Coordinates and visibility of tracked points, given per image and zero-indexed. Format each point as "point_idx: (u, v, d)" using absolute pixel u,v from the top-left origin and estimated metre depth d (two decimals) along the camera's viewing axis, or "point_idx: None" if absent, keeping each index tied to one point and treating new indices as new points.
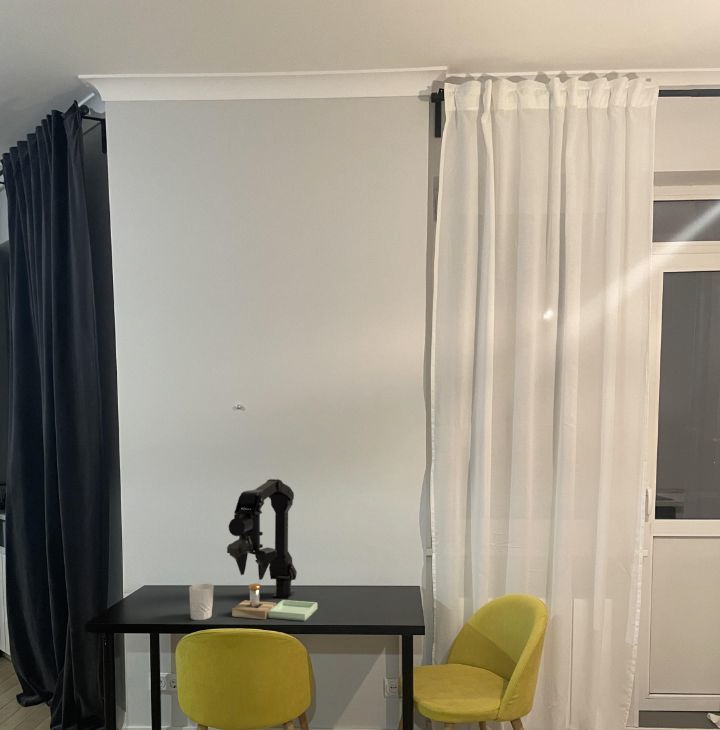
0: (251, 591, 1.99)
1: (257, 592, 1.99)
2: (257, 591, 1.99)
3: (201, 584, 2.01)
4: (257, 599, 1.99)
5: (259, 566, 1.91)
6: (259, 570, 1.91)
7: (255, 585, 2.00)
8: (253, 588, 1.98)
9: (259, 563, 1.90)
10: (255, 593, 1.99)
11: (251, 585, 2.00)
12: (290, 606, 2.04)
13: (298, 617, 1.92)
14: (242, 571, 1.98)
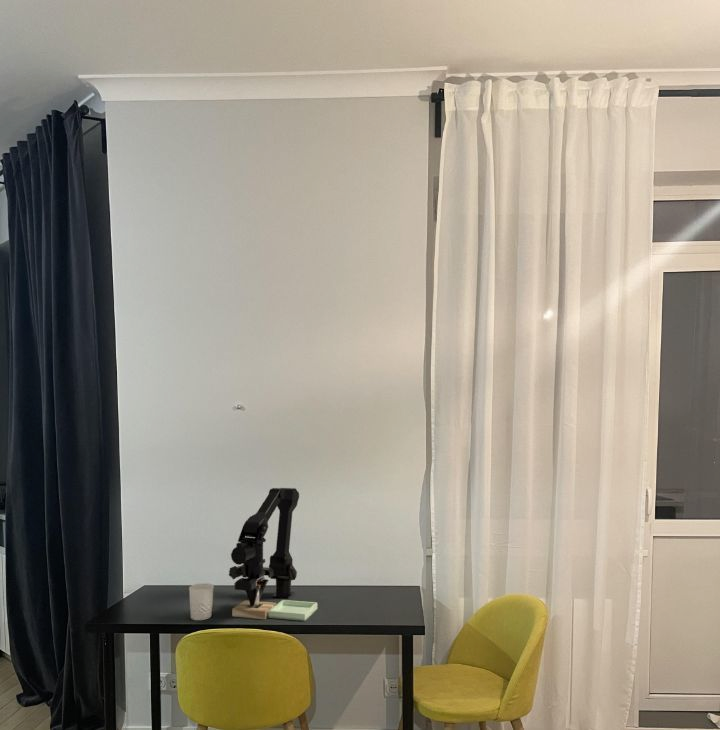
0: None
1: None
2: None
3: (201, 584, 2.01)
4: (257, 599, 1.99)
5: None
6: None
7: None
8: None
9: None
10: None
11: None
12: (290, 606, 2.04)
13: (298, 617, 1.92)
14: None
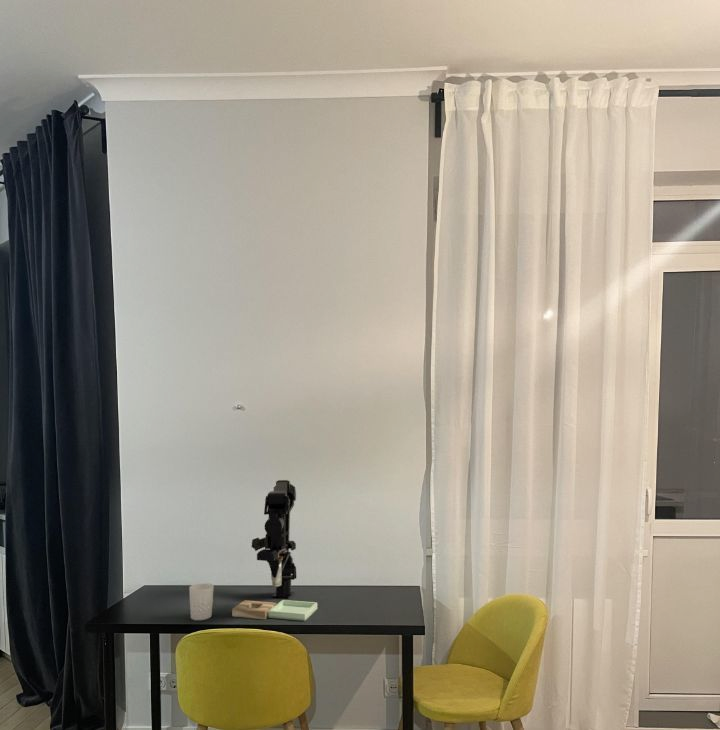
0: None
1: None
2: None
3: (201, 584, 2.01)
4: (279, 571, 1.99)
5: None
6: None
7: None
8: None
9: None
10: None
11: None
12: (290, 606, 2.04)
13: (298, 617, 1.92)
14: None
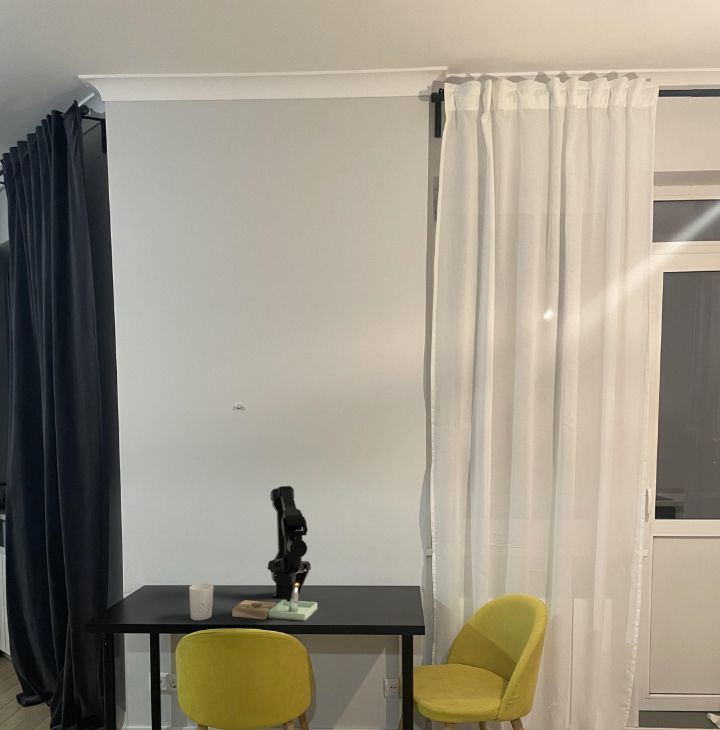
0: None
1: (296, 590, 1.99)
2: (296, 589, 1.99)
3: (201, 584, 2.01)
4: (296, 597, 1.99)
5: None
6: None
7: None
8: None
9: None
10: (294, 591, 1.98)
11: None
12: None
13: (298, 617, 1.92)
14: None
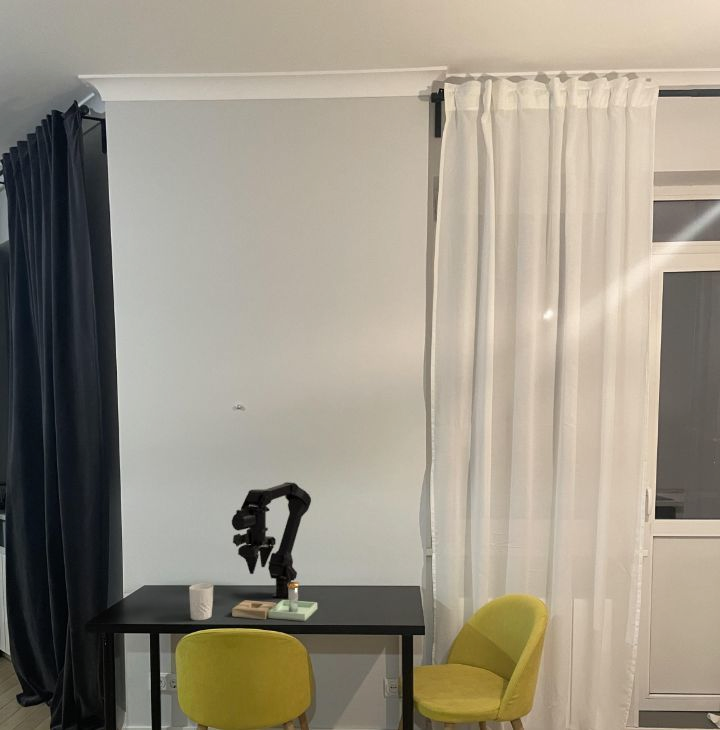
0: (290, 589, 1.98)
1: (296, 590, 1.99)
2: (296, 589, 1.99)
3: (201, 584, 2.01)
4: (296, 597, 1.99)
5: None
6: None
7: (294, 583, 2.00)
8: (292, 586, 1.98)
9: None
10: (294, 591, 1.98)
11: (290, 583, 2.00)
12: None
13: (298, 617, 1.92)
14: (262, 563, 2.12)
